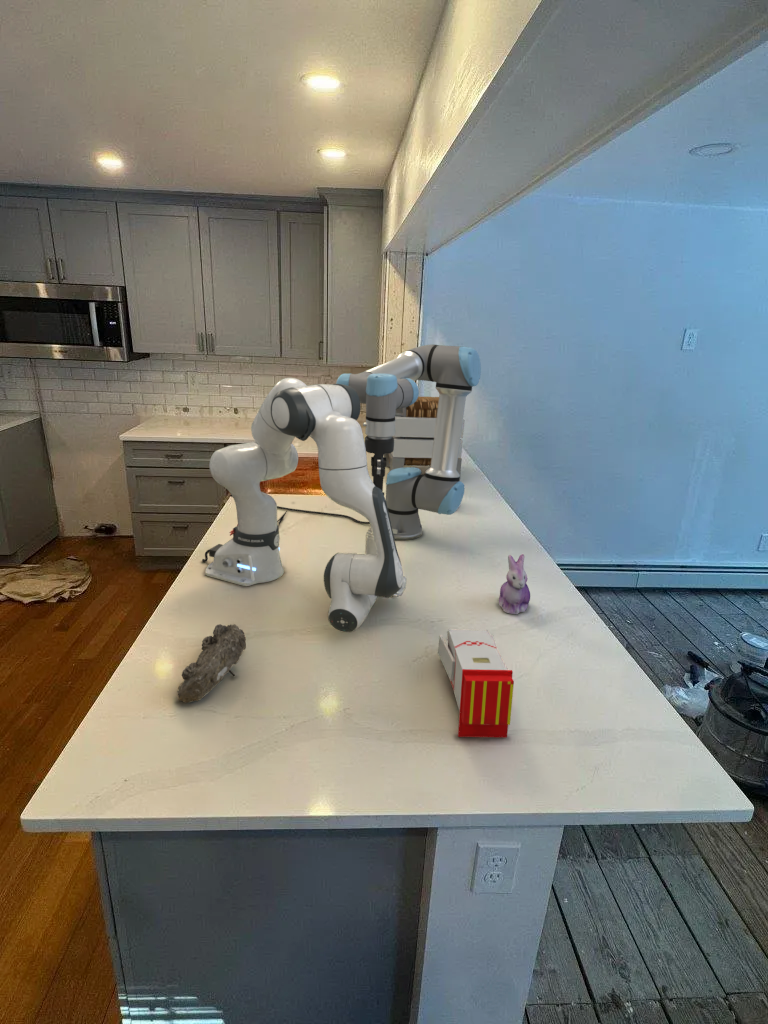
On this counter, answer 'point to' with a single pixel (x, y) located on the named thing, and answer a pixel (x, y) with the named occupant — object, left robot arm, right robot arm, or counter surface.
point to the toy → (478, 682)
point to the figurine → (515, 588)
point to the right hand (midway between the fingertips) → (376, 521)
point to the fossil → (212, 662)
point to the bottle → (370, 543)
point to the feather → (281, 518)
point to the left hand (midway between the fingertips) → (374, 568)
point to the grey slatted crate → (416, 435)
